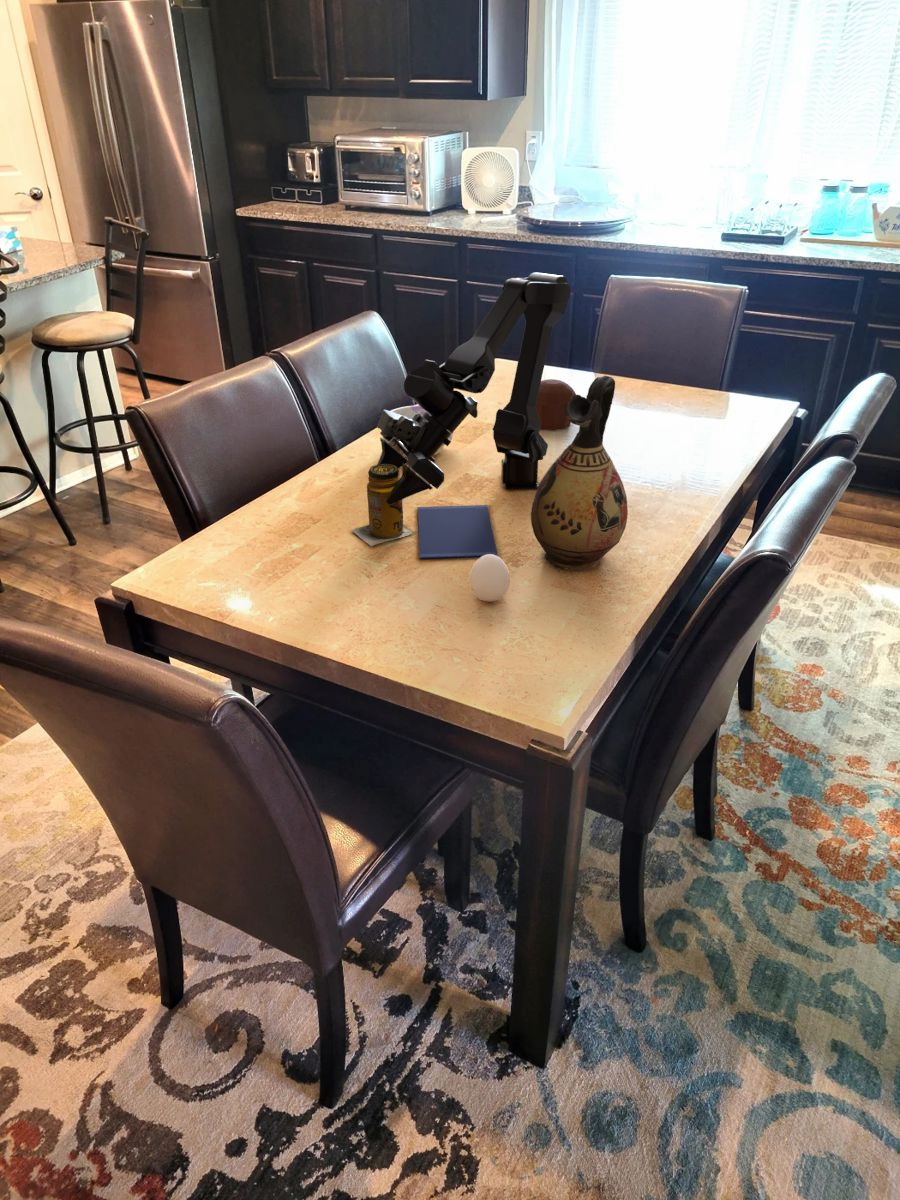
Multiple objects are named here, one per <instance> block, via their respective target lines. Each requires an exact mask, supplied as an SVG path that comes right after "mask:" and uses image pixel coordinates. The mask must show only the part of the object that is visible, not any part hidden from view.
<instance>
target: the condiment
mask: <svg viewBox="0 0 900 1200" xmlns="http://www.w3.org/2000/svg"><path fill="white" fill-rule="evenodd" d="M377 464H378V463H377ZM377 464H374V465H372V466H371V467H369V469H368V471H367V474H368V477H367V481H368V482H367V484H366V495H367V509H368V511H367V512H368V524H366V525H363V526H360V527H355V528H352V529H351V531H352V532H353V533H354V534H355V535H357V537H358V538H360V539H361V540H362V541H364V543H366V544H368V545H369V546H370V547H372V546H375V545H379V544H383V543H385V542H389V541H394V540H397V539H401V538H405V537H406V536H407V537H408V536H411V535H413V532H412V531H411V530H409V529H407V528H406V527H404V509H403V508H404V505H403V499H402V500H400V501H398V502H396V503H393V504H391V505H390V504H388V503H387V502H386V499H387V497H388V495H389V494H390V492H391V491H392V489H393V488H394V486H395V485H396V484H397V482H398V481H399V479H400V478H401V477H400V470H399V469H398V468H397V467H396V466H395V465H391V464H378V465H377Z"/></svg>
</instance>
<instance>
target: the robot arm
mask: <svg viewBox="0 0 900 1200" xmlns="http://www.w3.org/2000/svg"><path fill="white" fill-rule="evenodd" d="M571 293H572V288H571V285H570V284H569V281H568V280H567V277H565V276H564V275H557V274H551V273H543V272H532V273H530V275H529V276H528V277H516V278H515V277H511V278H508V279H506V280H505V282H504V284H503V286H502V292H501V293H500V295H499V296H498V298H497V299H496V301H495V302H494V303H493V305H492V307H491V308H490V310H489V311H488V313H487V314H486V316H485V317H484V319H483V321H482V322H481V324H480V325H479V326H478V328H477V330H476V331H475V333H474V334H473V336H472V337H471V338H470V339H469V340H467V341H466V342H464V343H462V344H460V345H459V346H457V347H456V348H455V349H454V350H453V352H452V353H451V354H450V355H449V356H448V357H447V358H446V360H445V362H443V363H442V364H440V365H439V364H438V363H437V362H436V361H435V360H429V359H424V361H423V363H422V365H419V366H417V367H415V368H414V369H413V370H411V371H410V372H409V374H407V375H406V377H405V379H404V381H403V390H404V392H405V394H406V395H407V396H408V397H409V398H410V399H411V400H412V401H413V402H415V403H416V404H417V405H419V406H421V407H422V408H423V409H424V410H425V411H427V412H428V413H429V414H430V415H429V414H428V413H427V412H425V414H424V415H423V416H422V415H420V414H416V415H415V416H414V417H413V418H412V419H410V418H407V417H405V416H402V415H400V414H397V413H394V412H391V410H388V409H383V410H382V413H381V416H380V418H379V421H378V424H377V426H376V428H377V429H379V430H380V432H379V434H380V435H381V436H382V437H380V439H379V441H380V444H381V454H380V455H379V459H378V462H377V463H376V465H378V464H391V465H395V466H396V467H397V468H398V470H399V469H401V468H402V474H401V476H400V477H399V478H400V479H399V481H398V482H397V484H396V485H395V486H394V488H393V489H392V491H391V492H390V494H389V495H388V497H387V499H386V502H387V503H388V504H390V505H391V504H393V503H396V502H398V501H400V500H402V501H403V500H404V499H407V498H410V497H411V496H413V495H416V494H419V493H421V492H424V491H427V490H430V491H431V490H433V487H434V489H437V490H438V489H439V488H440V487H441V486H442V484H443V483H444V482H445V473H444V471H442V469H441V468H440V467H439V466H438V465H437V464H435V461H436V459H435V458H434V456H435V455H434V454H435V453H436V452H437V451H438V449H439V448H440V447H441V446H442V445H443V444H445V445H444V446H446V447H449V445H450V444H451V443H452V440H451V441H450V440H449V439H448V438H449V437H450V435H451V433H453V434H454V432H455V430H456V429H458V427H459V426H460V425H461V424H462V422H463V421H464V420H465V419H466V418H467V417H468V415H470V416H471V417H472V418H474V419H476V418H477V417H478V404H479V403H478V401H477V400H476V399H474V397H472V396H467V397H466V395H464V394H463V393H462V392H467V393H471V394H475V395H476V394H481V393H483V392H484V391H485V390H486V389H487V387H488V386H489V383H490V381H491V379H492V377H493V375H494V373H495V370H496V367H495V366H496V361H495V360H496V357H497V355H498V353H499V352H500V349H501V348H502V346H503V344H505V342H506V340H507V339H508V337H509V335H510V334H511V332H512V330H513V329H514V328H515V326H516V324H517V323H518V321H519V319H521V316H523V317H524V320H525V325H524V329H523V336H522V340H521V345H520V350H519V356H518V360H517V363H516V364H517V365H516V370H515V373H514V374H515V375H514V380H513V383H512V389H511V394H510V399H509V401H508V403H507V404H506V405H505V406H504V407H503V409H502V408H498V409H497V411H496V413H495V421H494V424H493V427H492V431H493V432H492V436H493V440H494V443H495V448H496V452H497V453H498V454H504V458H502V459H501V473H500V477H501V478H500V479H501V483H502V484H504V489H505V490H508V491H509V490H537V489H538V486H539V483H538V477H539V476H538V473H539V461H542V460H544V457H546V455H547V452H548V448H549V444H548V443H547V441H546V440H545V438H544V437H543V436H542V435H541V434H540V430H541V429H540V423H541V422H540V419H539V415H538V412H537V409H536V402H537V397H538V393H539V388H540V383H541V381H542V380H543V379H542V377H543V373H544V370H545V365H546V360H547V356H548V355H547V354H548V350H549V345H550V340H551V337H552V333H553V332H552V331H553V328H554V327H555V325H556V324H557V323H558V322H559V320H561V318H562V317H563V316H564V315H565V313H566V309H567V306H568V303H569V300H570V299H571V295H572V294H571ZM461 391H462V392H461ZM450 432H451V433H450ZM383 437H384V438H385V439H384V440H383ZM403 454H405V455H406V456H407V457H408V458H407V457H404V456H403ZM433 455H434V456H433Z"/></svg>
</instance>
